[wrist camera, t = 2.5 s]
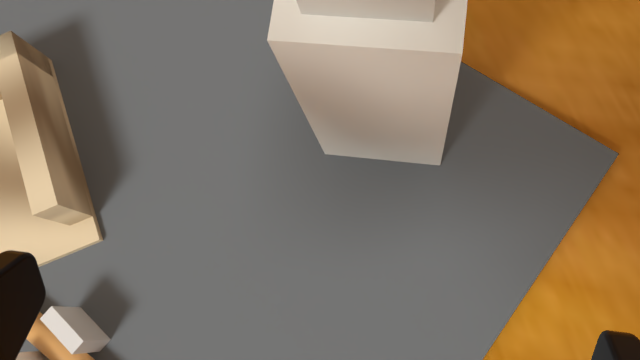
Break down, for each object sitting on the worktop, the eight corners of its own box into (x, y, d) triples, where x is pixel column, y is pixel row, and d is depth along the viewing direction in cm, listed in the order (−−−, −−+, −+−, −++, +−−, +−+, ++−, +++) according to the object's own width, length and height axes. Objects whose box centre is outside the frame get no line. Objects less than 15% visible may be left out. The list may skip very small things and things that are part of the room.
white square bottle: (439, 165, 23) (477, -21, 10) (324, 154, 24) (230, -32, 11) (451, 56, 24) (497, -236, 11) (339, 48, 25) (267, -234, 12)
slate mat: (615, 156, 23) (619, 153, 22) (151, 855, 20) (146, 865, 19) (108, -141, 29) (103, -148, 28) (-299, 356, 26) (-309, 357, 26)
